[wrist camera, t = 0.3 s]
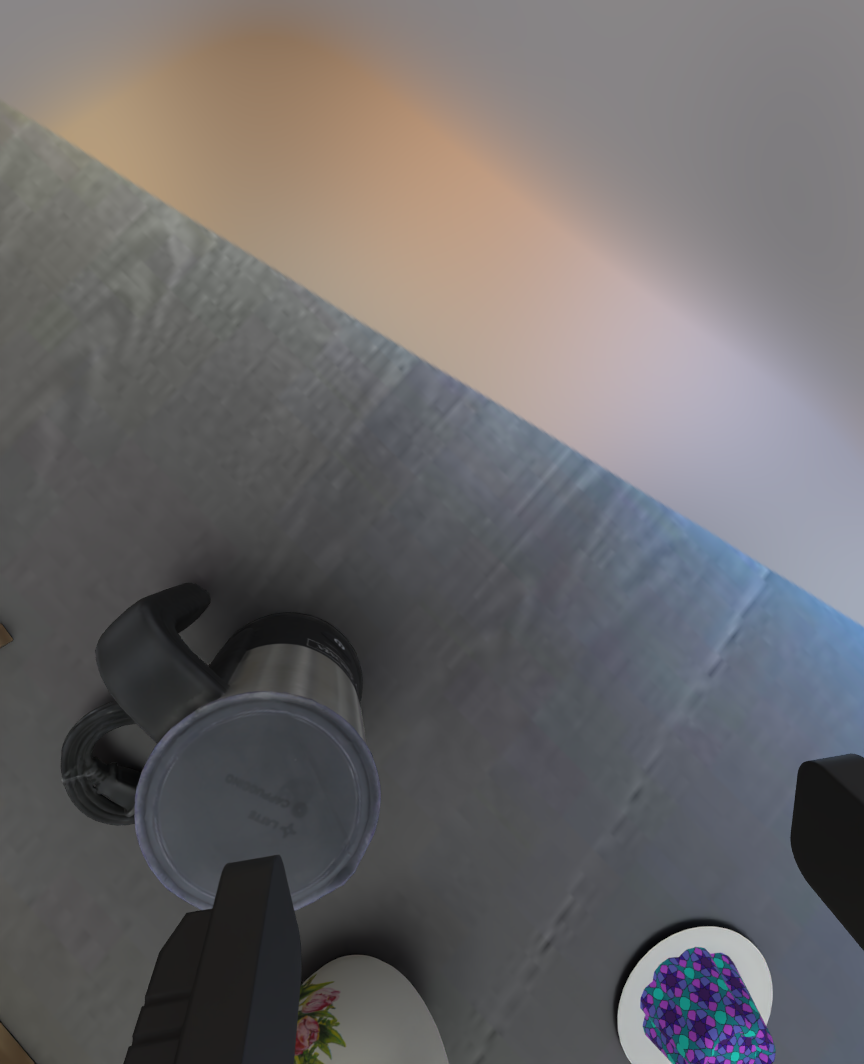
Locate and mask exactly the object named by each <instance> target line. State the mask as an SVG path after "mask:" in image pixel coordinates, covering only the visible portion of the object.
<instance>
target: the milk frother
mask: <svg viewBox="0 0 864 1064" xmlns="http://www.w3.org/2000/svg"><path fill="white" fill-rule="evenodd" d="M209 604H210V596H209V593H208V592H207V591H206V590H204V589H202V588H201V587H200V586H198V585H197V584H194V583H185V584H182V585H179V586H176V587H172V588H169V589H166V590H164V591H161V592H158V593H156V594H153V595H150V596H147V597H145V598H143V599H141V600H139V601H137V602H136V603H135V604H133V605H132V606H131V607H129V608H128V609H127V610H126V611H125V612H124V613H122V614H121V615H120V616H119V617H118V618H117V619H116V620H115V621H114V622H113V623H112V624H111V625H110V626H109V627H108V628H107V629H106V630H105V632H104V633H103V634H102V636H101V637H100V639H99V641H98V644H97V647H96V650H95V652H96V662H97V665H98V668H99V672H100V674H101V677H102V679H103V681H104V683H105V685H106V687H107V689H108V690H109V692H110V694H111V695H112V697H113V698H114V699H115V700H116V701H115V702H111V703H108V704H105V705H103V706H101V707H99V708H97V709H95V710H93V711H91V712H90V713H88V714H87V715H85V716H84V717H83V718H81V719H80V720H79V721H78V722H77V723H76V724H75V726H74V727H73V728H72V729H71V730H70V732H69V734H68V735H67V737H66V739H65V741H64V744H63V747H62V755H61V773H62V780H61V781H62V782H63V785H64V787H65V788H66V792H67V794H68V795H69V797H70V799H71V801H72V802H73V803H74V805H75V806H76V807H77V808H78V809H79V810H80V811H81V812H82V813H84V814H85V815H86V816H88V817H90V818H92V819H93V820H96V821H99V822H102V823H106V824H110V825H130V824H135V829H136V834H137V838H138V843H139V846H140V849H141V851H142V853H143V856H144V857H145V860H146V862H147V864H148V866H149V867H150V869H151V870H152V872H153V873H154V874H155V875H156V877H157V878H158V879H159V881H160V882H161V883H162V884H163V885H164V886H165V887H166V888H167V889H168V890H169V891H171V892H173V893H174V894H175V895H177V896H178V897H180V898H181V899H183V900H184V901H185V902H187V903H189V904H191V905H193V906H195V907H197V908H199V909H201V910H206V909H212V908H213V904H214V900H215V897H216V893H217V889H218V885H219V881H220V877H221V873H222V871H223V868H224V866H225V865H226V864H227V863H232V862H238V861H244V860H250V859H255V858H261V857H267V856H273V855H280V856H281V858H282V861H283V864H284V868H285V873H286V877H287V881H288V886H289V890H290V894H291V899H292V903H293V907H294V911H295V910H297V909H299V908H302V907H304V906H306V905H308V904H310V903H313V902H315V901H316V900H318V899H320V898H321V897H323V896H324V895H326V894H328V893H330V892H332V891H334V890H335V889H337V888H338V887H340V886H342V885H344V884H345V882H346V881H347V880H348V879H349V878H350V877H351V876H352V875H353V874H354V873H355V871H356V869H357V867H358V865H359V862H360V861H361V859H362V857H363V855H364V854H365V852H366V849H367V847H368V845H369V843H370V842H371V840H372V837H373V835H374V833H375V830H376V826H377V823H378V819H379V812H380V802H381V793H380V782H379V776H378V772H377V768H376V765H375V762H374V760H373V756H372V753H371V752H370V750H369V748H368V746H367V741H366V735H365V729H364V723H363V717H362V711H361V706H360V701H361V695H362V672H361V667H360V664H359V660H358V658H357V656H356V653H355V651H354V649H353V648H352V646H351V645H350V643H349V642H348V641H347V640H346V638H345V637H344V636H343V635H342V634H341V633H340V632H339V631H338V630H336V629H335V628H334V627H333V626H331V625H330V624H328V623H326V622H324V621H322V620H320V619H318V618H315V617H312V616H309V615H304V614H299V613H279V614H275V615H270V616H267V617H263V618H260V619H258V620H256V621H254V622H252V623H249V624H248V625H246V626H245V627H243V628H242V629H241V630H239V631H238V632H237V633H236V634H234V635H233V636H232V637H231V638H230V639H229V640H228V642H227V643H226V644H225V646H224V647H223V648H222V649H221V650H220V652H219V653H218V654H217V655H216V657H215V658H214V660H213V661H212V663H211V664H210V666H209V667H208V666H207V665H206V664H205V663H204V662H203V661H202V660H201V659H199V658H198V656H197V655H195V654H194V653H193V652H192V651H191V650H190V649H189V647H188V646H187V645H186V644H185V643H184V642H183V640H182V639H181V637H180V636H179V634H178V633H180V632H181V631H182V630H184V629H186V628H187V627H188V626H189V625H191V624H192V623H193V622H194V621H195V620H196V619H198V618H199V617H200V615H201V614H202V613H203V612H204V611H205V610H206V608H207V607H208V606H209ZM130 724H138V725H139V726H140V727H141V728H142V729H143V730H144V731H145V732H146V733H147V734H148V735H149V736H150V737H151V738H152V739H153V740H154V741H155V742H156V743H157V745H156V746H155V748H154V750H153V751H152V753H151V754H150V756H149V758H148V760H147V762H146V764H145V766H144V768H143V770H142V772H141V773H140V772H138V771H136V770H133V769H130V768H127V767H122V766H117V763H111V764H108V765H107V764H105V763H104V762H102V761H101V760H99V759H98V758H97V757H94V758H93V757H92V753H91V752H92V750H93V747H94V745H95V743H96V742H97V741H98V740H99V739H100V738H101V737H102V736H103V735H105V734H106V733H108V732H109V731H111V730H113V729H115V728H118V727H121V726H124V725H130ZM94 784H95V785H97V787H94V786H93V785H94ZM102 794H105V795H106V796H107V797H108V798H110V799H111V800H112V801H113V802H112V801H111V800H109V799H108V798H106V797H105V796H104V795H102Z"/></svg>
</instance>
